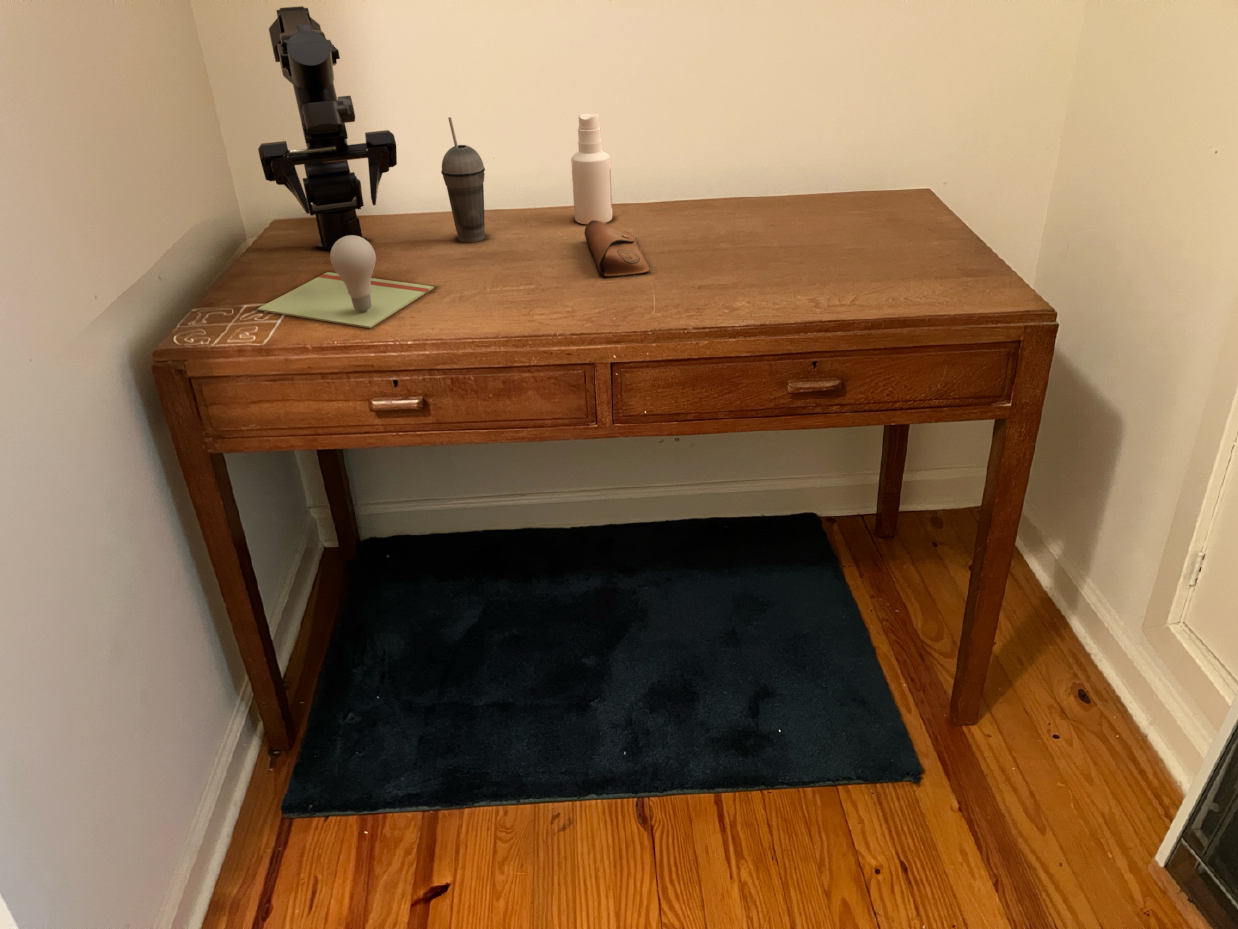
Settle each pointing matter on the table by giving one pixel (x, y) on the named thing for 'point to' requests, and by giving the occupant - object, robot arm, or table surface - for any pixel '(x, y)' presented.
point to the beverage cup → (465, 189)
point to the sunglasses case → (614, 250)
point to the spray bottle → (591, 174)
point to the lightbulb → (355, 268)
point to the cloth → (345, 301)
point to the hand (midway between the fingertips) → (341, 207)
